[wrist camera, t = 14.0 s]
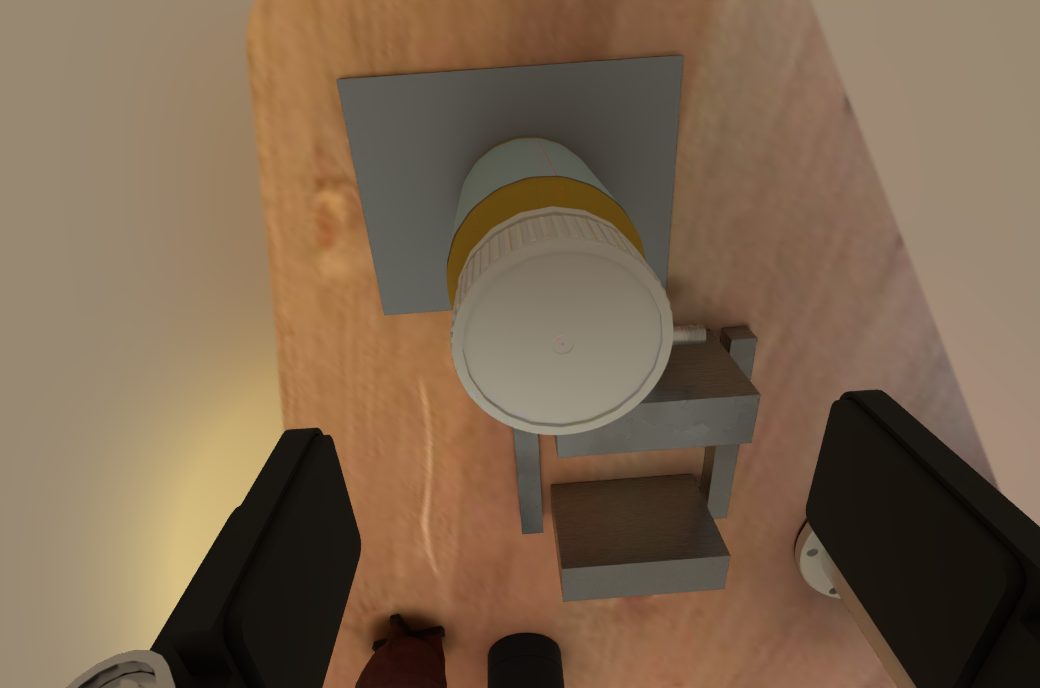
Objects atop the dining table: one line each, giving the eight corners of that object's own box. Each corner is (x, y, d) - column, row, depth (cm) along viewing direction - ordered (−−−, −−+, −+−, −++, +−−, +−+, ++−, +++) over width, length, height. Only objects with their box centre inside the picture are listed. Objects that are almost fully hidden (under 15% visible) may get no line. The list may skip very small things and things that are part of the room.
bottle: (454, 137, 26) (420, 226, 13) (598, 132, 26) (708, 215, 13) (465, 272, 29) (446, 453, 16) (592, 267, 30) (675, 441, 16)
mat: (680, 55, 25) (683, 55, 25) (663, 290, 31) (665, 294, 31) (339, 79, 25) (336, 79, 25) (385, 311, 31) (384, 315, 30)
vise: (752, 288, 31) (816, 347, 25) (718, 502, 39) (760, 586, 33) (503, 307, 31) (506, 370, 25) (521, 518, 39) (526, 604, 33)
